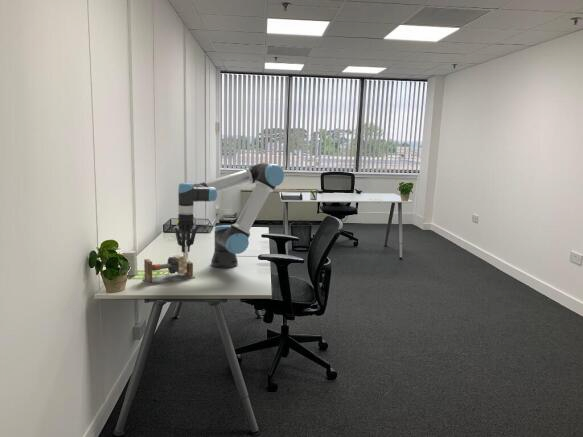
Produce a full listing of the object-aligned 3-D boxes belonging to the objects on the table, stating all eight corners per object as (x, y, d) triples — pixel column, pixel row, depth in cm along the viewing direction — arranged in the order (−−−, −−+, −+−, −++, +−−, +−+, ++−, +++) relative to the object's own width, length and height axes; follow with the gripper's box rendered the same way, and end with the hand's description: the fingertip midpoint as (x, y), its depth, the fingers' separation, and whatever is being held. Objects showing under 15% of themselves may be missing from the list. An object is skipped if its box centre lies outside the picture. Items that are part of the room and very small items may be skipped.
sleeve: (180, 269, 228) (180, 254, 227) (186, 273, 222) (186, 258, 220) (173, 270, 226) (173, 255, 224) (179, 274, 219) (179, 259, 218)
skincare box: (137, 273, 228) (137, 250, 226) (135, 275, 224) (134, 252, 222) (125, 273, 228) (124, 250, 226) (122, 275, 223) (121, 252, 221)
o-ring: (170, 270, 225) (170, 255, 223) (176, 274, 218) (176, 259, 217) (167, 271, 224) (167, 256, 222) (173, 275, 217) (173, 259, 216)
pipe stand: (188, 273, 231) (188, 253, 229) (194, 277, 224) (194, 257, 222) (142, 280, 217) (142, 258, 216) (148, 285, 210) (148, 263, 208)
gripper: (195, 211, 227) (194, 255, 231) (170, 212, 220) (170, 257, 223) (200, 213, 221) (200, 258, 225) (176, 215, 214) (176, 261, 217)
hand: (185, 258), depth 224 cm, fingers closed
